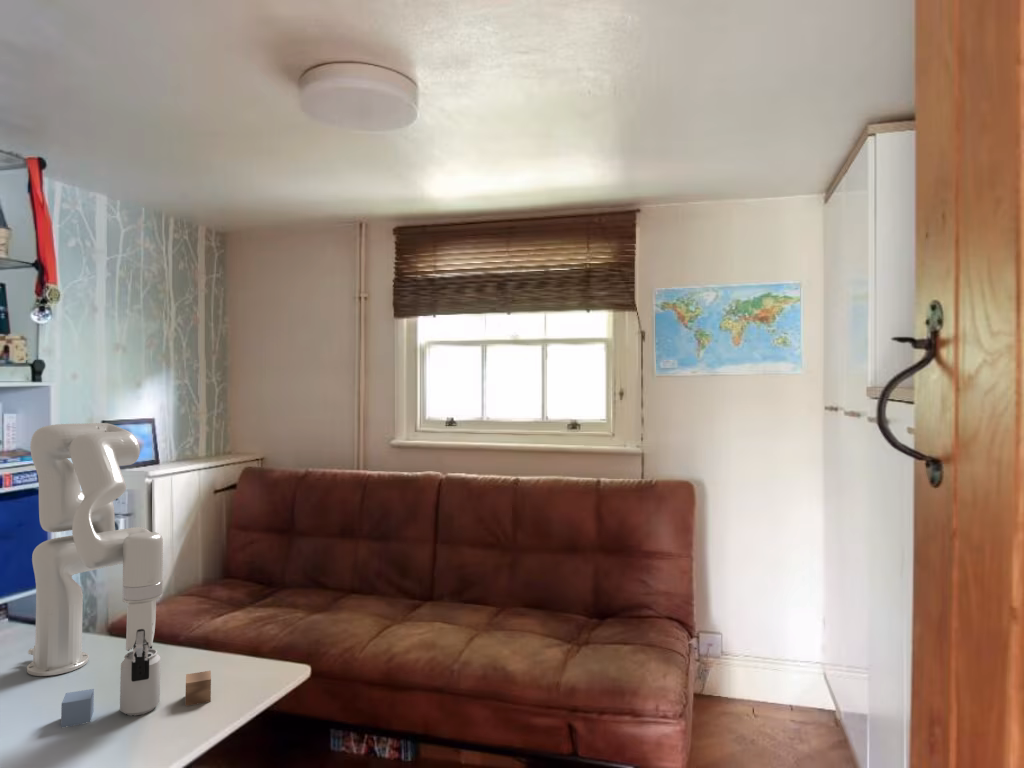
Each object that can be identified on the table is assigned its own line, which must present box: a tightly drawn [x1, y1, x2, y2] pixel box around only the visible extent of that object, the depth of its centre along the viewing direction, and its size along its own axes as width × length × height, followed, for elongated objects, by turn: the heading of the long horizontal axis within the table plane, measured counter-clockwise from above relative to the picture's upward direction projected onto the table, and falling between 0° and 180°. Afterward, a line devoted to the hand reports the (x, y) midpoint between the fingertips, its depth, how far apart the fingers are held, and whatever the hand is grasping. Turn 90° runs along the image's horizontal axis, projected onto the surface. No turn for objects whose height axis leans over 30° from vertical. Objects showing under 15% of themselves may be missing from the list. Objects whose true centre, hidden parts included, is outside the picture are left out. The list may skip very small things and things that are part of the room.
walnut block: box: [184, 670, 212, 707], centre depth 147 cm, size 5×5×5 cm
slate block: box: [60, 688, 95, 728], centre depth 137 cm, size 5×5×5 cm
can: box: [119, 648, 162, 716], centre depth 142 cm, size 8×8×12 cm
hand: (142, 671), depth 141 cm, fingers open, 9 cm apart
